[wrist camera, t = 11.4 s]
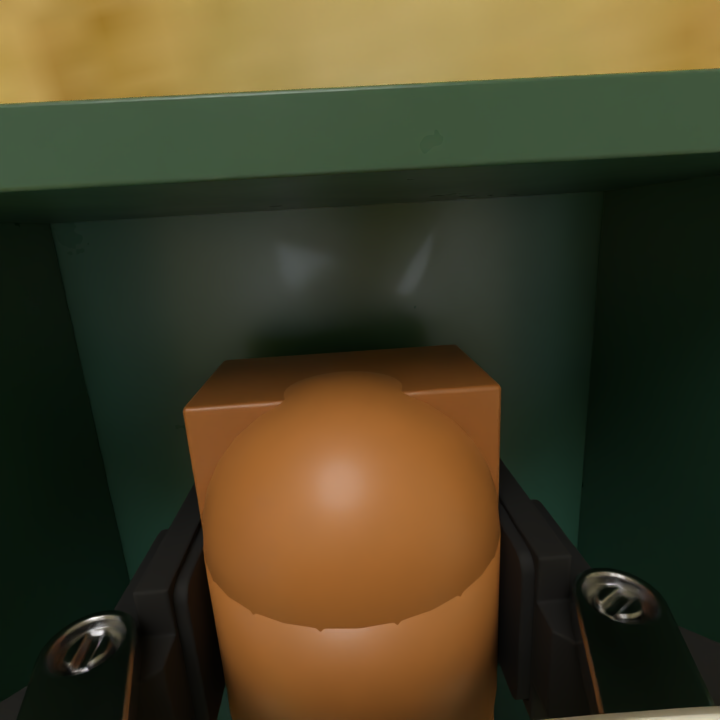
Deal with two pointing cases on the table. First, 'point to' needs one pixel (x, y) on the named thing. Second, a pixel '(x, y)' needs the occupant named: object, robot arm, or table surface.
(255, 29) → the table surface
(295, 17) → the table surface
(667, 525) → the box
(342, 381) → the bread roll
